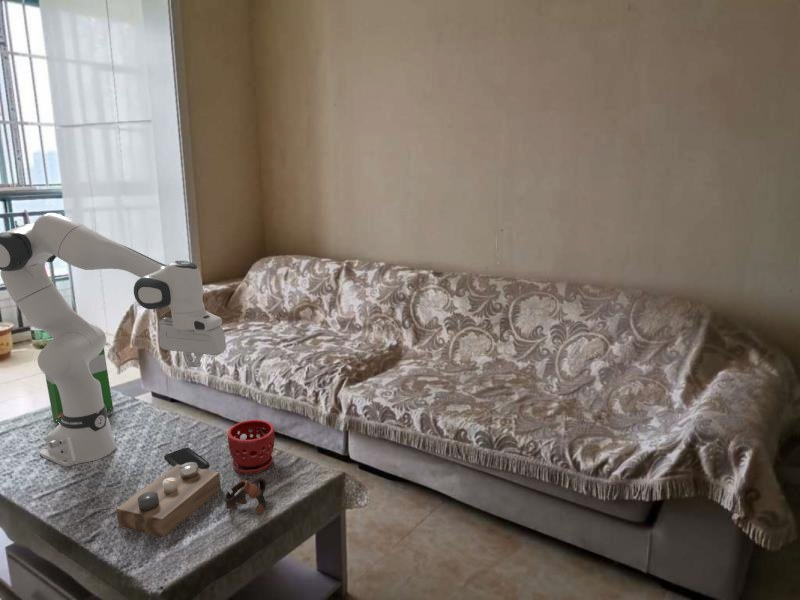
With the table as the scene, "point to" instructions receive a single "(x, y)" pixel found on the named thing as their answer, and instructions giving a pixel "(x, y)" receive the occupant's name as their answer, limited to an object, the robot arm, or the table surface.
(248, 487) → the brown open round fixture
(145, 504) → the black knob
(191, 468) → the silver knob
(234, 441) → the plant pot
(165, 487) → the dial
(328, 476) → the table surface
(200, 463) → the phone
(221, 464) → the table surface
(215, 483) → the mount
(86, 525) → the table surface
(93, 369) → the hardback book
